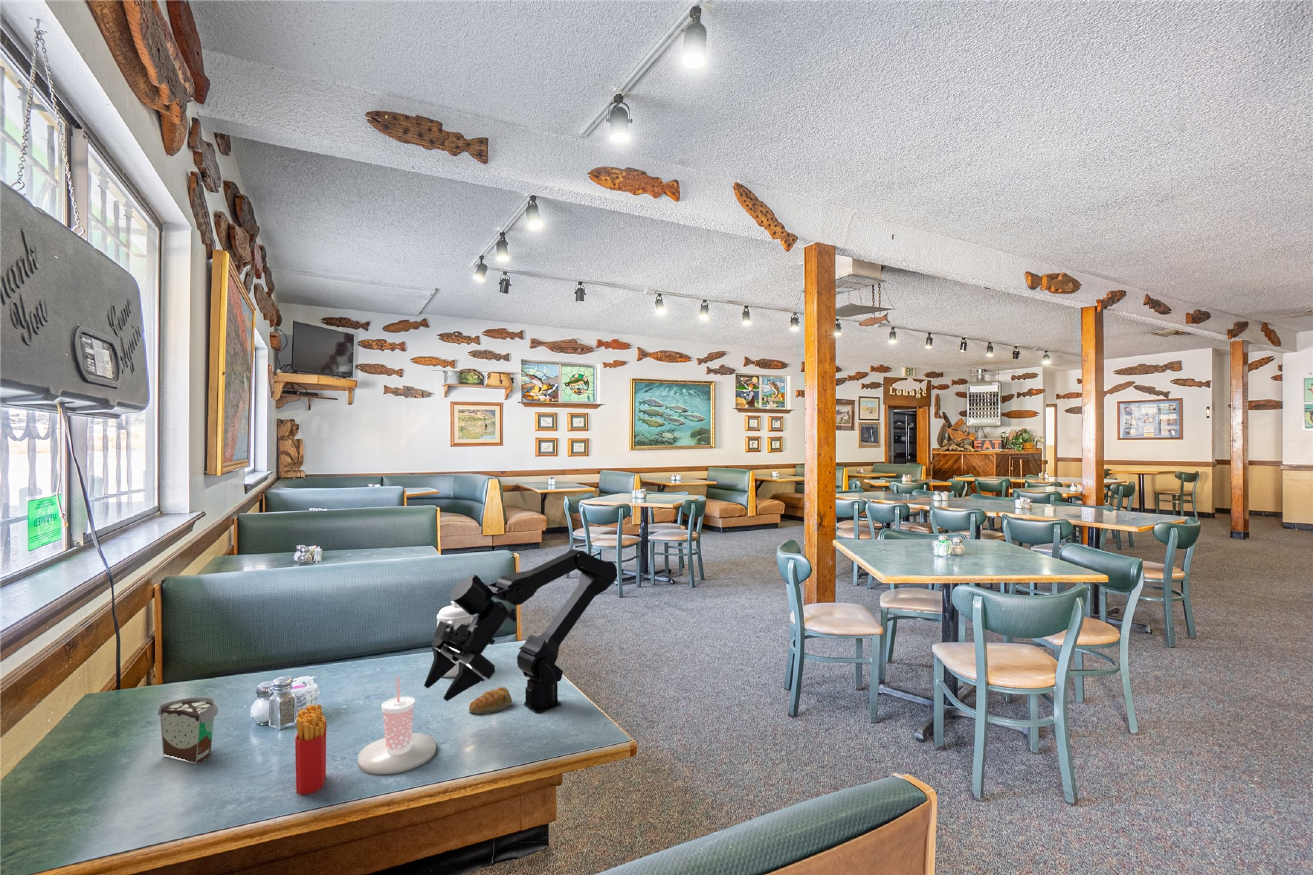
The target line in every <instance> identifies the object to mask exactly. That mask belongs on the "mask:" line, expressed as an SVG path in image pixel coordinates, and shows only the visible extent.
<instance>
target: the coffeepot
mask: <svg viewBox="0 0 1313 875" xmlns="http://www.w3.org/2000/svg"><path fill="white" fill-rule="evenodd" d="M473 616H474V615H469V614H468V613H467V612H466V611H464V610H463V609H462V608H461V607H460V606H458V605H457V604H456V603H455V602H454V601H453V600H451V601H450V605H446V606H445V607H443V608H441V609H440V610H439V612H438V614H436V619H437V621H436V623H437V624H436V628H437V627H438V624H439V622H440V621H442V622H446V623H449V624H453V625H456V623H460V624H464V623H466V622H469V623H471V622H472V621H473V620H474V618H473ZM451 661H452V662H454V663H455V664H456V665H455V666H454V667H453V668H452V669H451V670H450V671H448V672H447V673H446V674H445V675H444V676H443V677H442V678H455V677H456V676H457V674H458V672H459V661H460V662H462V663H463V664H465V665H466V664H467V663H465V662H464V661H462V660H458V661H456V662H455V661H453V660H451Z"/></svg>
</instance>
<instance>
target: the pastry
mask: <svg viewBox="0 0 1313 875" xmlns="http://www.w3.org/2000/svg"><path fill="white" fill-rule="evenodd" d="M512 704H513V699H512V696H511V693H510V691H509V689H507V688H506V687H505V686H502V687H500V686H499V687H498V688H497V689H491V690H487V691H485V692H484V693H483V694H481V695H480V696H479V697H476V698H475V699H474V700H473V701H472V702H470V704H469V707H468V712H470V713H473V714H476V715H483V714H489V713H495V712H497V711H496V710H498V711H500V710H504V709H507V708H510V707H511V705H512ZM494 711H495V712H494Z"/></svg>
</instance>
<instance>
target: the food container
mask: <svg viewBox="0 0 1313 875" xmlns="http://www.w3.org/2000/svg"><path fill="white" fill-rule="evenodd" d="M217 714H219V709H218V705H217V702H216V701H215V699H213V697H206V696H196V697H189V698H187V697H186V698H180V699H177V700H172V701H169V702H165V703H162V704H159V707H158V713H157V715H158V716H159V718H160V731H161V732H160V733H161V745H162V756H163V755H164V754H166V755H169V756H174V757H177V758H181V759H185V760H187V761H189V762H192V763H191V764H193V763H195V764H194V765H198V764H200V763H202V762H204V761H205V760H206V759H208V758H209V757H208V756H210V755H211V754H212V752H211V751H212V744H213V741H212V740H213V732H214V731H213V730H214V723H215V722H214V721H215V717H216V716H217ZM210 753H211V754H210ZM207 757H208V758H207ZM204 759H205V760H204ZM203 760H204V761H203ZM201 761H202V762H201ZM199 762H200V763H199ZM197 763H198V764H197Z"/></svg>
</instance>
